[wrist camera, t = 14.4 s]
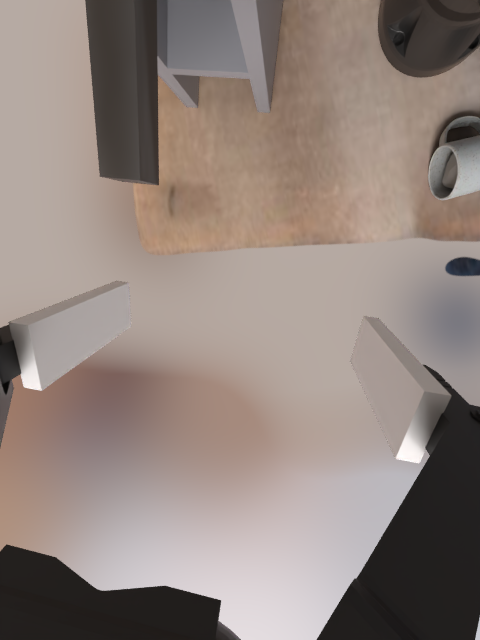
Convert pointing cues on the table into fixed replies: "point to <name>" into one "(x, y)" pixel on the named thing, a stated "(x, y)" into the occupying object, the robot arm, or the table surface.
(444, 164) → the ceramic mug
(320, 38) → the table surface
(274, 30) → the shelf
